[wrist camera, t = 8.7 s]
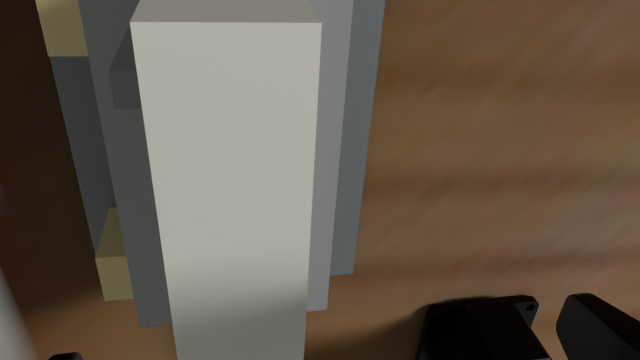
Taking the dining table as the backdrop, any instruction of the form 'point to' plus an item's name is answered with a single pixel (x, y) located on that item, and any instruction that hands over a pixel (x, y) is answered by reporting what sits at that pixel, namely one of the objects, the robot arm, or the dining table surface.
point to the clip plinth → (133, 159)
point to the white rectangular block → (229, 165)
